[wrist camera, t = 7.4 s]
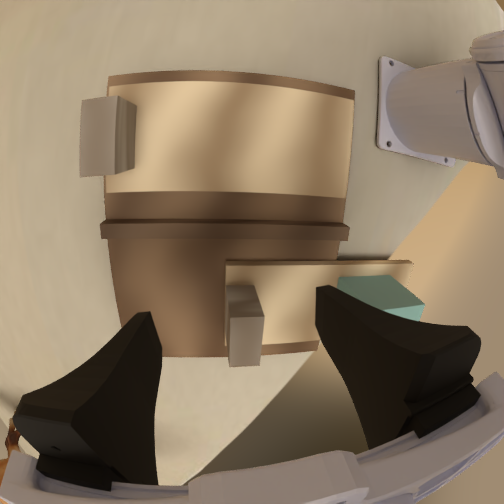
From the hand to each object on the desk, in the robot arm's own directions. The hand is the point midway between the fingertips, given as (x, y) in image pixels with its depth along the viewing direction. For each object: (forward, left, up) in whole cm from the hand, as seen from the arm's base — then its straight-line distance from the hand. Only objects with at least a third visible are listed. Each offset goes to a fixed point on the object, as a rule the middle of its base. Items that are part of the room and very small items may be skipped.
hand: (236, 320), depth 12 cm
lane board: (0, -1, -9) cm, 9 cm away
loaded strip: (-8, +4, -8) cm, 12 cm away
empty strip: (0, -8, -8) cm, 11 cm away
